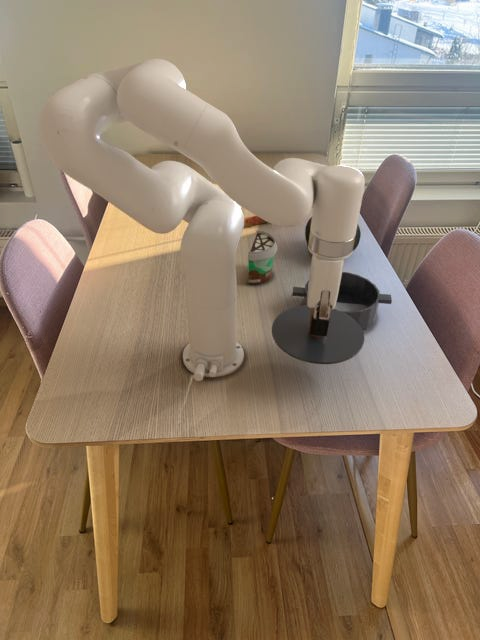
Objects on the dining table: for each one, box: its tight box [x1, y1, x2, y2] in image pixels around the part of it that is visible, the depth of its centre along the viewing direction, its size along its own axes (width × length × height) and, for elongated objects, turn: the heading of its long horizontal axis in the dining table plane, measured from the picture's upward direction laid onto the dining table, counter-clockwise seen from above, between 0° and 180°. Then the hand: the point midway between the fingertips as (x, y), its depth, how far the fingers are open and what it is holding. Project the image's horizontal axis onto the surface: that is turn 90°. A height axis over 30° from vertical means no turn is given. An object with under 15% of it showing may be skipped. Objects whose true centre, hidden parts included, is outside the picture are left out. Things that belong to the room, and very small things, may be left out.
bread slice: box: [240, 206, 268, 228], centre depth 158 cm, size 18×18×4 cm
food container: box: [247, 229, 278, 286], centre depth 129 cm, size 12×6×10 cm, turn 168°
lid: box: [271, 302, 365, 365], centre depth 97 cm, size 18×18×8 cm
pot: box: [291, 271, 393, 332], centre depth 117 cm, size 17×22×6 cm
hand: (318, 326), depth 98 cm, fingers closed on lid, 3 cm apart
